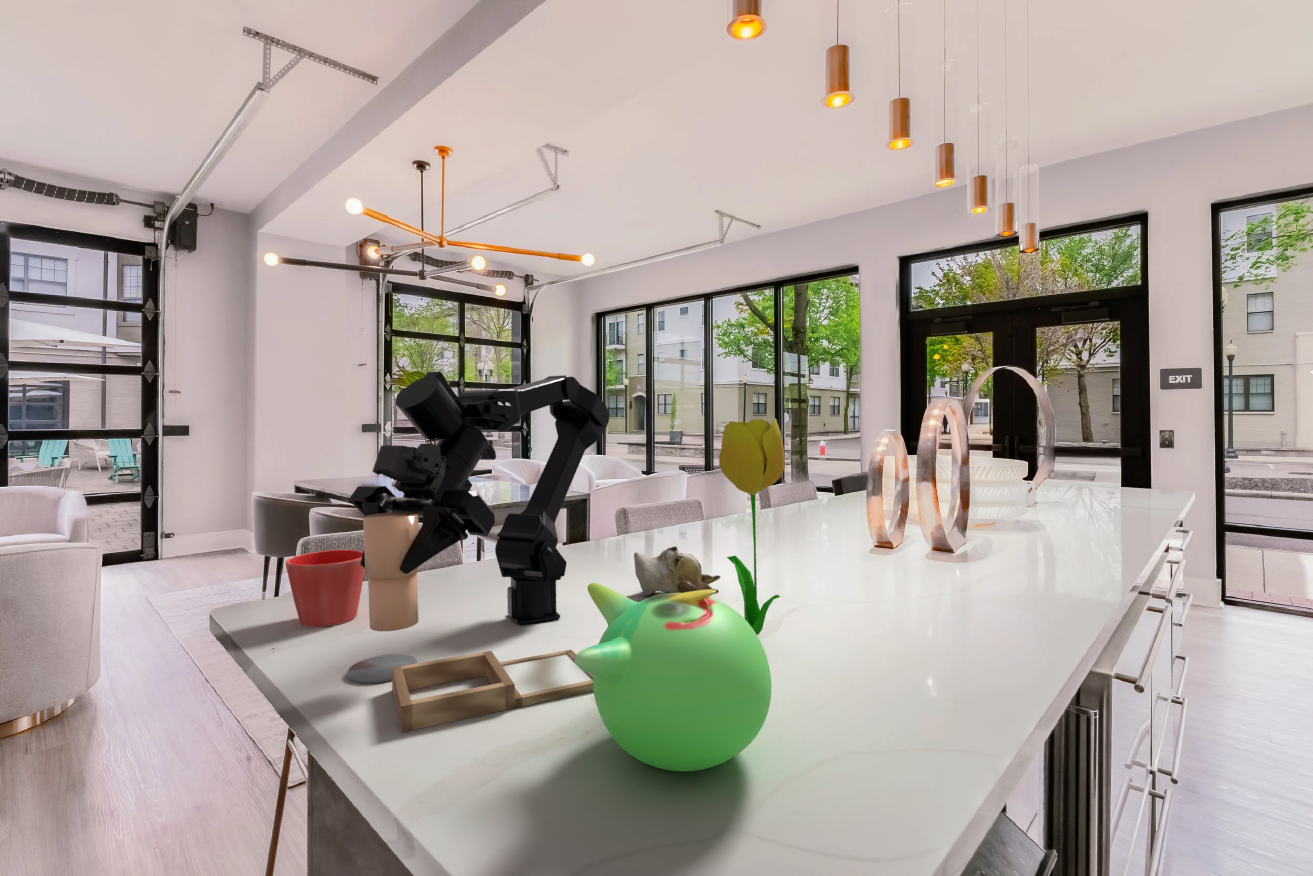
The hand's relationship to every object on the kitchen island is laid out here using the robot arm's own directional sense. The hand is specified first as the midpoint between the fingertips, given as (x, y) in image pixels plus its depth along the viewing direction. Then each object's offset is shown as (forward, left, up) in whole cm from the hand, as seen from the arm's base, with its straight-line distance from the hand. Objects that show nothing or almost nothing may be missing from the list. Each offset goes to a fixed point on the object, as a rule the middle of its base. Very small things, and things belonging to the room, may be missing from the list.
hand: (382, 569), depth 71 cm
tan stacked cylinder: (-1, -1, -7) cm, 7 cm away
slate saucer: (0, -5, -13) cm, 14 cm away
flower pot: (+6, -31, -13) cm, 34 cm away
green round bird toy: (-22, +28, -13) cm, 38 cm away
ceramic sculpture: (-47, -17, -14) cm, 52 cm away
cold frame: (-11, +7, -13) cm, 19 cm away
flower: (-45, +8, -13) cm, 48 cm away
